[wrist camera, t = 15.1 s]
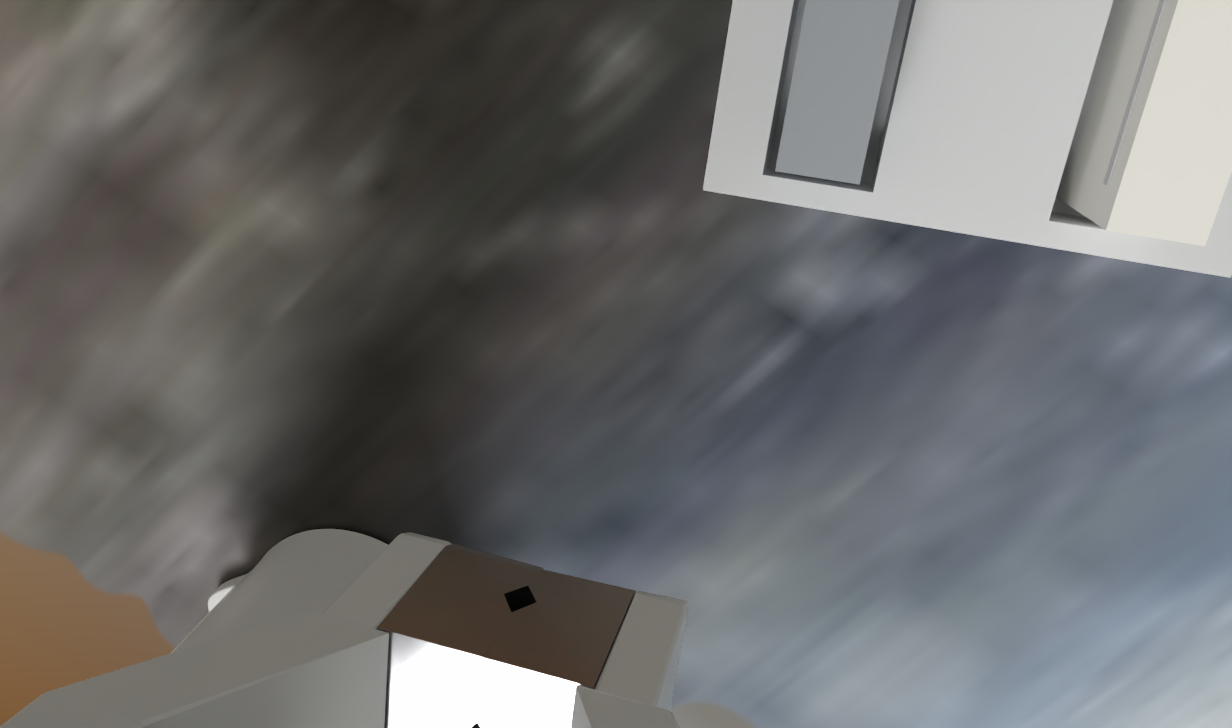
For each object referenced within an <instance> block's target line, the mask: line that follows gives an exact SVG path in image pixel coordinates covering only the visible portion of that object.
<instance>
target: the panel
mask: <svg viewBox="0 0 1232 728" xmlns="http://www.w3.org/2000/svg"><path fill="white" fill-rule="evenodd" d="M1231 172H1232V0H1113V4H1112V7H1111V11H1110V14H1109V17H1108V21H1107V24H1106V28H1105V31H1104V34H1103V38H1102V41H1101V45H1100V48H1099V52H1098V55H1097V58H1096V62H1095V65H1094V69H1093V72H1092V75H1091V79H1090V82H1089V86H1088V89H1087V93H1086V96H1085V99H1084V103H1083V106H1082V110H1081V113H1080V116H1079V120H1078V123H1077V127H1076V130H1075V134H1074V137H1073V140H1072V144H1071V147H1070V151H1069V154H1068V157H1067V161H1066V164H1065V168H1064V171H1063V175H1062V178H1061V181H1060V185H1059V188H1058V192H1057V195H1056V197H1057V198H1058V199H1060V200H1061V201H1063V202H1064V203H1066V204H1067V205H1069V206H1070V207H1072V208H1073V209H1075V210H1076V211H1078V212H1079V213H1081V214H1082V215H1084V216H1085V217H1087V218H1088V219H1090V220H1091V221H1093V222H1094V223H1096V224H1097V225H1099V226H1100V227H1101V228H1103V229H1104V230H1106V231H1113V232H1119V233H1125V234H1131V235H1138V236H1144V237H1150V238H1156V239H1162V240H1169V241H1175V242H1181V243H1187V244H1194V245H1200V246H1205V245H1206V243H1207V240H1208V237H1209V234H1210V231H1211V229H1212V226H1213V223H1214V220H1215V217H1216V214H1217V212H1218V209H1219V206H1220V203H1221V200H1222V198H1223V195H1224V192H1225V189H1226V186H1227V184H1228V181H1229V178H1230V175H1231Z"/></svg>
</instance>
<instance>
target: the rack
mask: <svg viewBox="0 0 1232 728" xmlns="http://www.w3.org/2000/svg"><path fill="white" fill-rule="evenodd" d="M1112 4H1113V0H733V2H732V9H731V15H730V21H729V28H728V34H727V40H726V47H725V53H724V59H723V65H722V72H721V78H720V84H719V91H718V97H717V103H716V110H715V116H714V122H713V129H712V135H711V141H710V147H709V154H708V160H707V166H706V173H705V179H704V185H703V190H704V191H710V192H716V193H723V194H729V195H735V196H741V197H747V198H753V199H759V200H765V201H771V202H777V203H783V204H789V205H795V206H801V207H807V208H813V209H819V210H825V211H831V212H837V213H843V214H849V215H855V216H861V217H867V218H873V219H879V220H885V221H891V222H897V223H903V224H909V225H915V226H922V227H928V228H934V229H940V230H946V231H952V232H958V233H964V234H970V235H976V236H982V237H988V238H994V239H1000V240H1006V241H1012V242H1018V243H1024V244H1030V245H1036V246H1042V247H1048V248H1054V249H1060V250H1066V251H1072V252H1078V253H1084V254H1090V255H1096V256H1102V257H1108V258H1114V259H1121V260H1127V261H1133V262H1139V263H1145V264H1151V265H1157V266H1163V267H1169V268H1175V269H1181V270H1187V271H1193V272H1199V273H1205V274H1211V275H1217V276H1223V277H1229V278H1231V276H1232V172H1231V175H1230V178H1229V181H1228V184H1227V186H1226V189H1225V192H1224V195H1223V198H1222V200H1221V203H1220V206H1219V209H1218V212H1217V214H1216V217H1215V220H1214V223H1213V226H1212V229H1211V231H1210V234H1209V237H1208V240H1207V243H1206V245H1205V246H1200V245H1194V244H1187V243H1181V242H1175V241H1169V240H1162V239H1156V238H1150V237H1144V236H1138V235H1131V234H1125V233H1119V232H1113V231H1106V230H1104V229H1103V228H1101V227H1100V226H1099V225H1097V224H1096V223H1094V222H1093V221H1091V220H1090V219H1088V218H1087V217H1085V216H1084V215H1082V214H1081V213H1079V212H1078V211H1076V210H1075V209H1073V208H1072V207H1070V206H1069V205H1067V204H1066V203H1064V202H1063V201H1061V200H1060V199H1058V198H1057V197H1056V195H1057V192H1058V188H1059V185H1060V181H1061V178H1062V175H1063V171H1064V168H1065V164H1066V161H1067V157H1068V154H1069V151H1070V147H1071V144H1072V140H1073V137H1074V134H1075V130H1076V127H1077V123H1078V120H1079V116H1080V113H1081V110H1082V106H1083V103H1084V99H1085V96H1086V93H1087V89H1088V86H1089V82H1090V79H1091V75H1092V72H1093V69H1094V65H1095V62H1096V58H1097V55H1098V52H1099V48H1100V45H1101V41H1102V38H1103V34H1104V31H1105V28H1106V24H1107V21H1108V17H1109V14H1110V11H1111V7H1112Z"/></svg>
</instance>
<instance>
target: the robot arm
mask: <svg viewBox="0 0 1232 728" xmlns="http://www.w3.org/2000/svg"><path fill="white" fill-rule="evenodd" d="M208 610H209V613H208V614H207V615H206V616H205V617H204V618H203V620H202V621H201V622H200V623H199V624H198V625H197V626H196V627H195V628H194V629H193V630H192V631H191V632H190V633H189V634H188V635H187V636H186V637H185V638H184V640H183V641H182V642H181V643H180V644H179V645H178V646H177V647H176V648H175V649H174V650H173V651H172V653H170V654H167V655H164V656H161V657H157V658H154V659H151V660H148V661H145V662H142V663H139V664H135V665H132V666H129V667H126V668H122V669H119V670H116V671H113V672H110V673H107V674H103V675H100V676H97V677H94V678H91V679H88V680H84V681H81V682H78V683H75V684H72V685H68V686H65V687H62V688H59V689H56V690H52V691H49V692H46V693H43V694H42V695H41V696H39V697H38V698H37V699H35V700H34V701H33V702H32V703H30V704H29V705H28V706H26V707H25V708H24V709H22V710H21V711H20V712H19V713H17V714H16V715H15V716H13V717H12V718H11V719H10V720H8V721H7V722H6V723H4V724H3V725H2V726H0V728H680V727H679V725H678V723H677V721H676V719H675V717H674V715H673V713H672V712H671V711H670V707H671V703H672V697H673V692H674V686H675V681H676V675H677V670H678V665H679V659H680V654H681V648H682V643H683V637H684V632H685V627H686V621H687V613H688V606H687V601H685V600H680V599H675V598H670V597H666V596H661V595H656V594H652V593H647V592H642V591H638V592H636V591H635V590H631V589H626V588H622V587H618V586H613V585H609V584H605V583H600V582H596V581H591V580H587V579H583V578H578V577H574V576H570V575H565V574H561V573H556V572H552V571H548V570H544V568H542V567H538V566H535V565H531V564H527V563H524V562H520V561H516V560H513V559H509V558H506V557H502V556H498V555H495V554H491V553H487V552H484V551H480V550H476V549H473V548H469V547H466V546H462V545H458V544H451V543H450V542H448V541H444V540H440V539H436V538H432V537H428V536H424V535H420V534H415V533H411V532H408V533H402V534H400V535H398V536H397V537H396V538H395V539H394V540H393V541H392V542H391V543H390V544H389V545H388V544H386V543H384V542H382V541H380V540H377V539H375V538H372V537H370V536H367V535H364V534H360V533H357V532H352V531H347V530H340V529H315V530H309V531H304V532H301V533H297V534H294V535H292V536H290V537H288V538H286V539H284V540H282V541H280V542H279V543H278V544H276V545H275V546H274V547H272V548H271V549H270V550H269V551H268V552H267V553H266V554H265V555H264V557H263V558H262V559H261V560H260V562H259V563H258V564H257V565H256V566H255V567H254V568H253V570H251V571H250V572H249V573H248V574H245V575H242V576H239V577H236V578H234V579H231V580H229V581H227V582H225V583H223V584H222V585H220V586H219V587H218V588H217V589H216V590H215V592H214V593H213V594H212V595H211V596H210V597H209V600H208Z"/></svg>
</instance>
